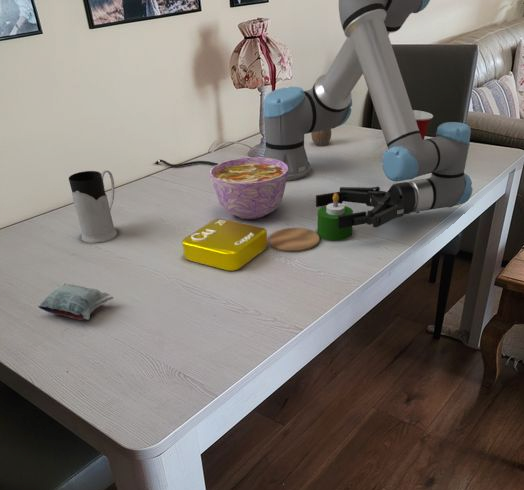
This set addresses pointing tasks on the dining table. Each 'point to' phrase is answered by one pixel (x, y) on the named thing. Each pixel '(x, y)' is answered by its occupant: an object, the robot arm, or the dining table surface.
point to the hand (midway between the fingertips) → (326, 211)
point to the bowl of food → (250, 185)
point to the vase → (321, 137)
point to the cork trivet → (294, 239)
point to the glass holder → (93, 205)
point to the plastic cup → (422, 121)
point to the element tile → (225, 244)
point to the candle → (333, 221)
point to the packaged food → (74, 301)
